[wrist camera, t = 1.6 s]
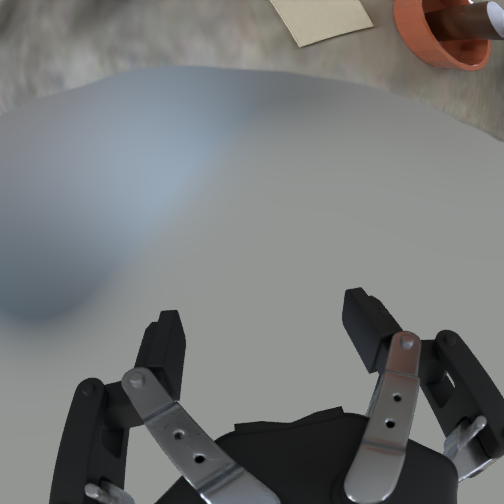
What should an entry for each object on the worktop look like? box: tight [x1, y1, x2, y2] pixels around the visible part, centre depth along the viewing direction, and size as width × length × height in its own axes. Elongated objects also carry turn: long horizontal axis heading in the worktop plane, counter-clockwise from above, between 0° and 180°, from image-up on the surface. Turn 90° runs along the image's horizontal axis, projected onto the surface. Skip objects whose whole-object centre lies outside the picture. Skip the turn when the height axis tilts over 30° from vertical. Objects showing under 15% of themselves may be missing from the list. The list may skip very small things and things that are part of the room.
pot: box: [393, 0, 491, 71], centre depth 18 cm, size 14×14×6 cm
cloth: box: [270, 0, 373, 48], centre depth 21 cm, size 11×11×1 cm
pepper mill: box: [424, 1, 504, 41], centre depth 14 cm, size 5×5×14 cm
